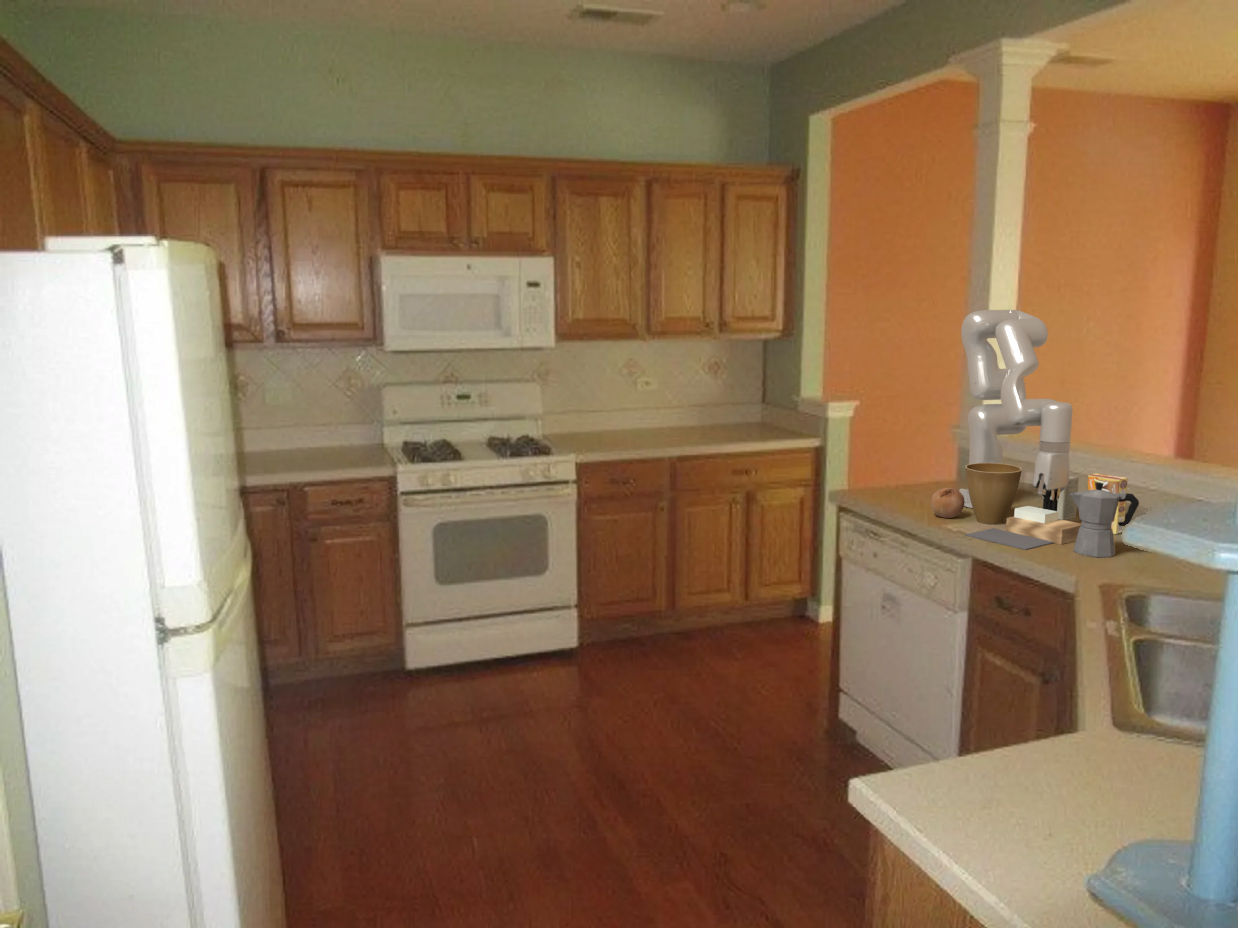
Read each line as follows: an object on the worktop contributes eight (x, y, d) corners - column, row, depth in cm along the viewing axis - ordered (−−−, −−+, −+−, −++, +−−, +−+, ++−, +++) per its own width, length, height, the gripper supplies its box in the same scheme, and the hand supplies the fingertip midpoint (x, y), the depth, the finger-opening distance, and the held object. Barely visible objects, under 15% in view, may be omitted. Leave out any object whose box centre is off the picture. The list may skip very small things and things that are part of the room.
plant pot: (957, 515, 263) (960, 462, 261) (1010, 516, 261) (1014, 463, 258) (968, 527, 249) (971, 471, 246) (1024, 528, 246) (1028, 472, 244)
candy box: (1124, 532, 241) (1128, 477, 238) (1115, 535, 238) (1120, 479, 236) (1091, 526, 248) (1096, 472, 245) (1083, 528, 246) (1087, 474, 243)
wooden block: (1006, 532, 243) (1006, 517, 242) (1028, 527, 248) (1029, 513, 247) (1061, 544, 229) (1062, 529, 229) (1083, 538, 235) (1084, 524, 234)
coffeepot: (1066, 555, 219) (1072, 484, 216) (1062, 546, 228) (1067, 477, 225) (1137, 561, 214) (1144, 488, 211) (1130, 551, 223) (1136, 481, 220)
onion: (948, 529, 258) (949, 503, 253) (923, 515, 265) (923, 489, 260) (971, 515, 262) (972, 488, 256) (945, 501, 269) (946, 475, 263)
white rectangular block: (1014, 517, 243) (1014, 508, 243) (1027, 514, 246) (1028, 505, 246) (1044, 523, 236) (1045, 514, 235) (1057, 520, 239) (1058, 511, 238)
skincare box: (1063, 515, 262) (1066, 474, 259) (1076, 518, 258) (1079, 477, 256) (1048, 517, 259) (1051, 476, 257) (1062, 520, 255) (1065, 479, 253)
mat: (965, 535, 240) (965, 534, 240) (993, 529, 246) (993, 528, 246) (1025, 550, 225) (1025, 548, 225) (1053, 542, 231) (1053, 541, 231)
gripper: (1057, 443, 248) (1052, 507, 251) (1025, 448, 240) (1020, 514, 243) (1083, 446, 242) (1078, 512, 245) (1051, 452, 234) (1046, 519, 237)
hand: (1049, 513), depth 244 cm, fingers closed
